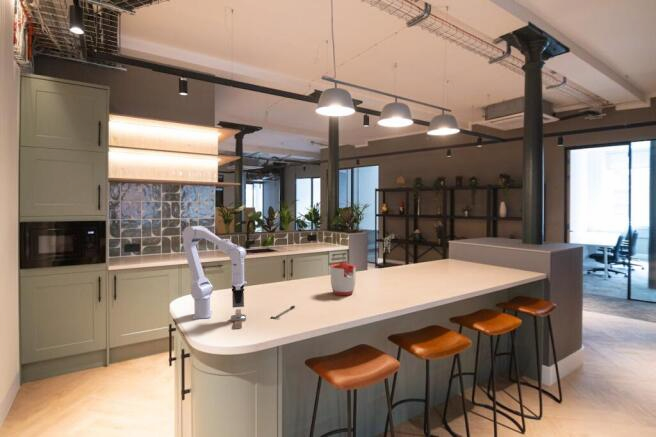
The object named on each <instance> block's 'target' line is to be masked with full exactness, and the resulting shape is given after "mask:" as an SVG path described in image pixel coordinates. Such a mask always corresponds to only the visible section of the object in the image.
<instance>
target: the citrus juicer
mask: <svg viewBox="0 0 656 437" xmlns="http://www.w3.org/2000/svg"><path fill="white" fill-rule="evenodd" d="M356 267H357V265H355V264H351V263H347V262H345V261H344V260H342V261H341V262H340V263H335V264H331V265H330V285H331V289H332V293H333V294H334V295H338V296H349V295H352V294H353V293H354V291H355V287H356Z"/></svg>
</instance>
